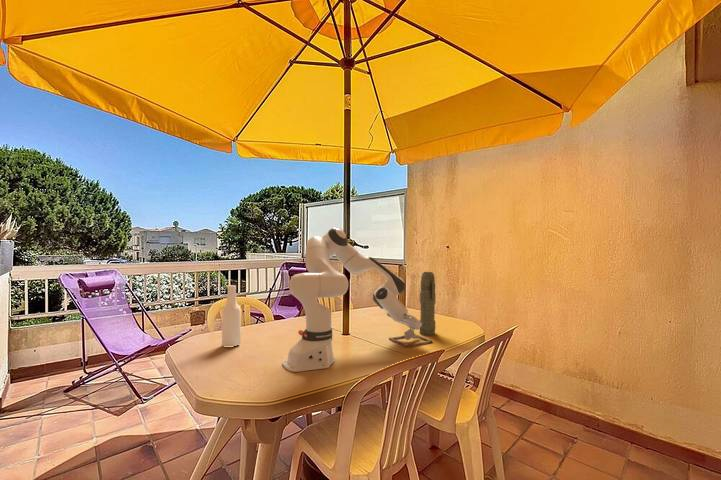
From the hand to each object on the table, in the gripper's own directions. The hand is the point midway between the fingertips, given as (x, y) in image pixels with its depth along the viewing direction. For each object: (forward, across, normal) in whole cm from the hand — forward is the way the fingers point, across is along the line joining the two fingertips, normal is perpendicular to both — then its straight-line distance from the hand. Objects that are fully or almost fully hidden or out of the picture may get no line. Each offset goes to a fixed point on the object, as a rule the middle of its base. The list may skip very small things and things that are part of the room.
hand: (413, 328), depth 183 cm
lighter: (0, 0, +7) cm, 7 cm away
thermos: (+16, +6, -6) cm, 18 cm away
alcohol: (-56, +38, +64) cm, 93 cm away
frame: (+3, 0, +6) cm, 7 cm away
